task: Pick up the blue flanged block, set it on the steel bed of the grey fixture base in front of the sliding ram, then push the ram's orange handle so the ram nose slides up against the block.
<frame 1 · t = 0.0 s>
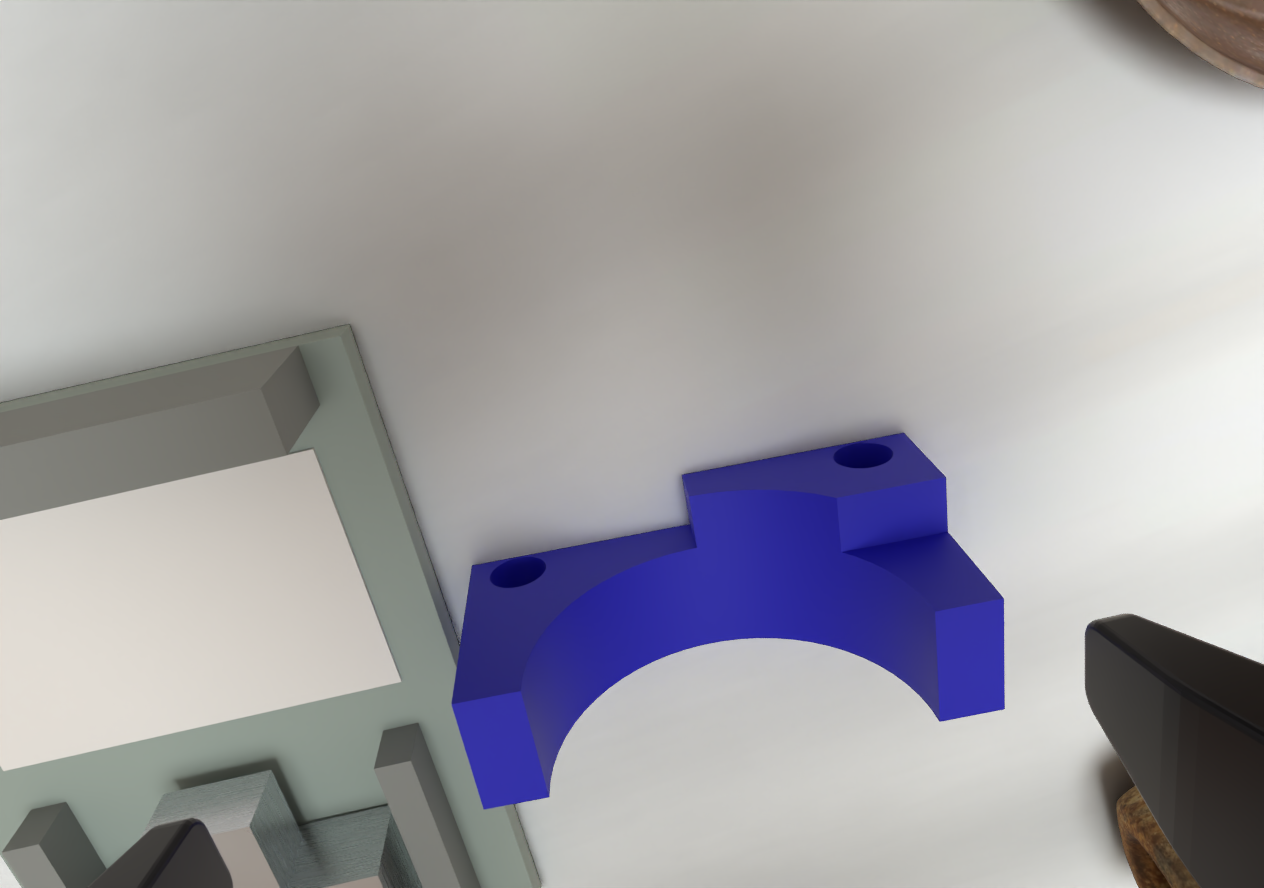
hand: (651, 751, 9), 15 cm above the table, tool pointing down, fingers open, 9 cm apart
grey fixture base: (215, 700, 26), on the table
blue flanged block: (691, 540, 26), on the table
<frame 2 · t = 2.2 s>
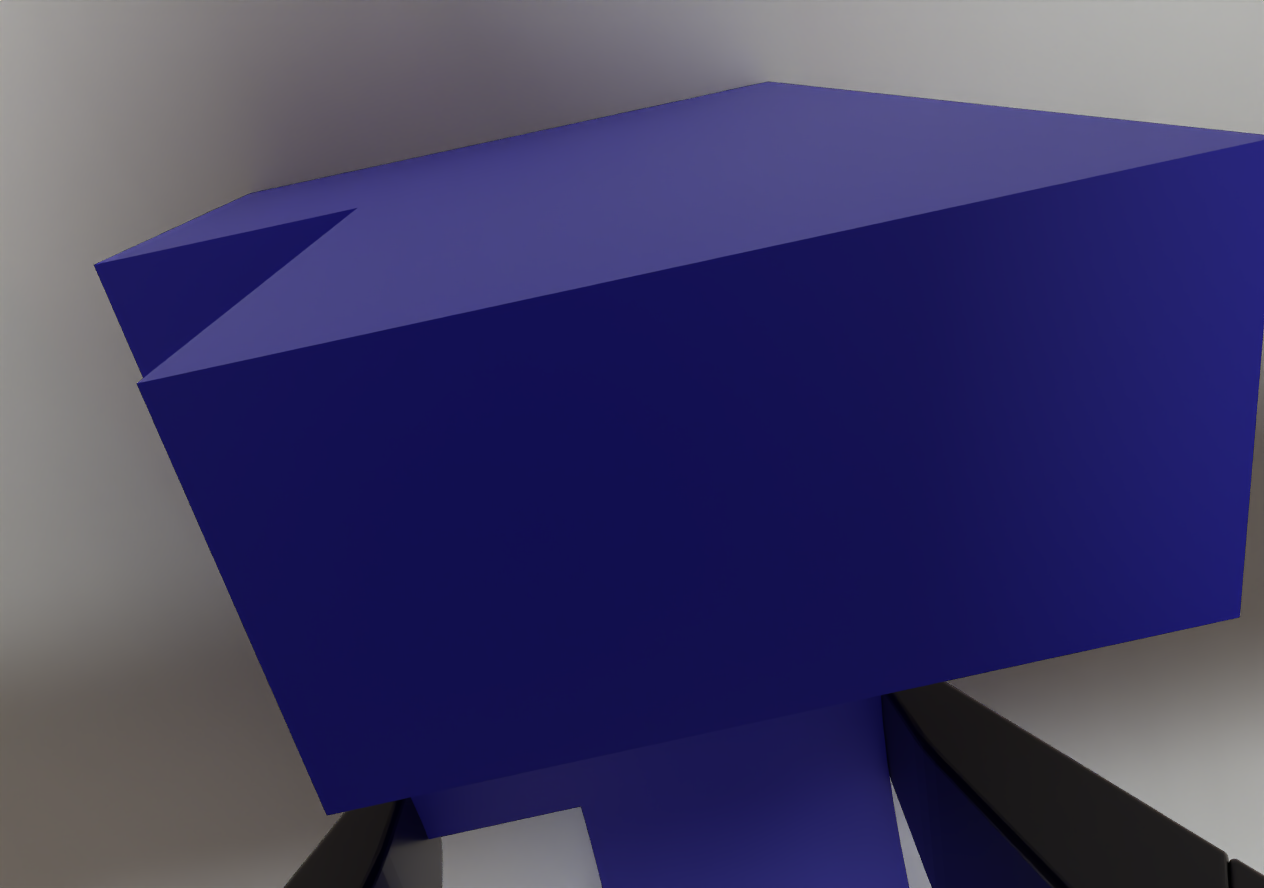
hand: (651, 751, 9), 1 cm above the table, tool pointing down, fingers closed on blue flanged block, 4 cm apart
blue flanged block: (640, 680, 10), on the table, touching gripper
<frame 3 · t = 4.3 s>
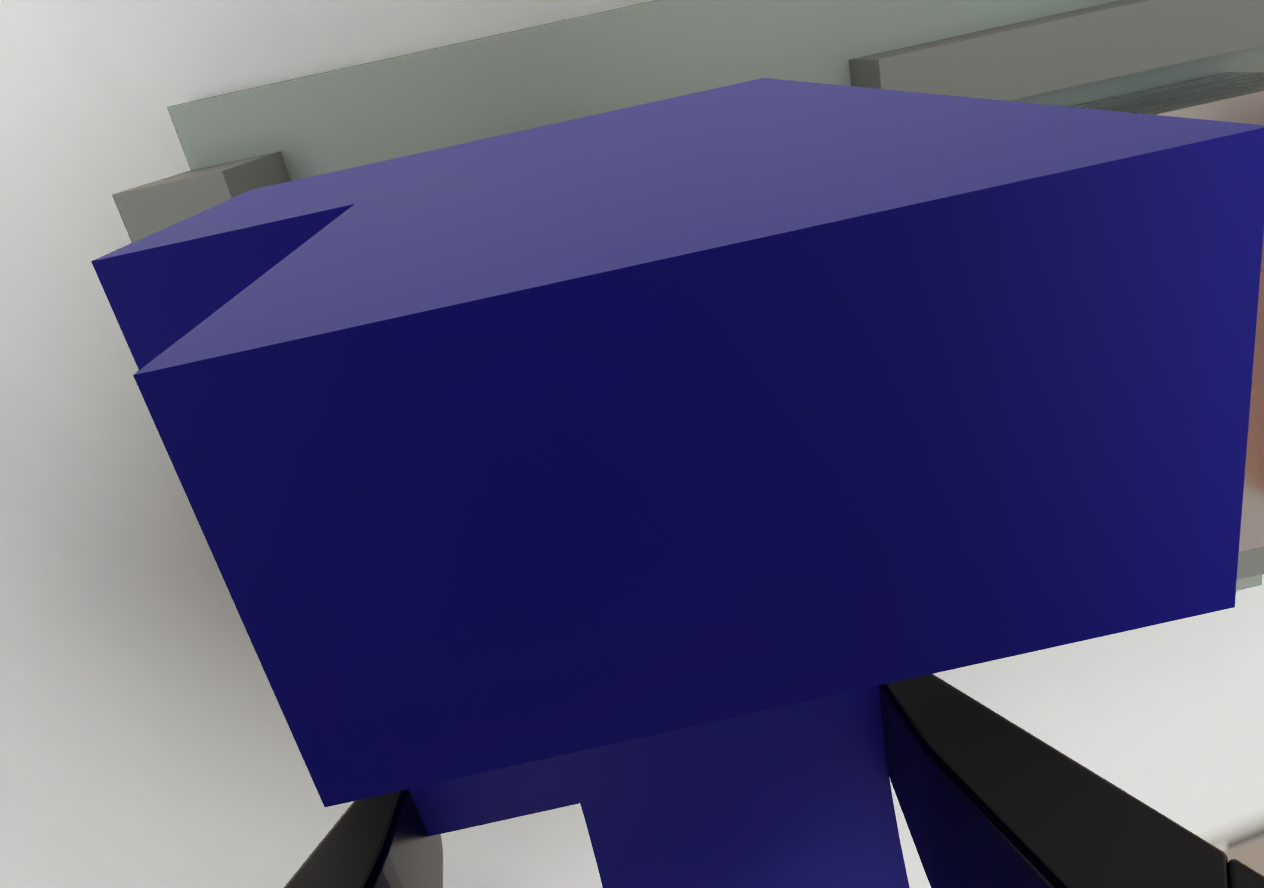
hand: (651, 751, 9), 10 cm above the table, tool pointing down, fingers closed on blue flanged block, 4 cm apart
ram: (1169, 369, 15), point 4 cm above the table, slide at 0.0 cm
grey fixture base: (788, 368, 18), on the table
blue flanged block: (639, 677, 10), point 9 cm above the table, touching gripper
when the fingers open (3 cm above the table, at t = 5.6 s): blue flanged block stays where it is, resting on grey fixture base.
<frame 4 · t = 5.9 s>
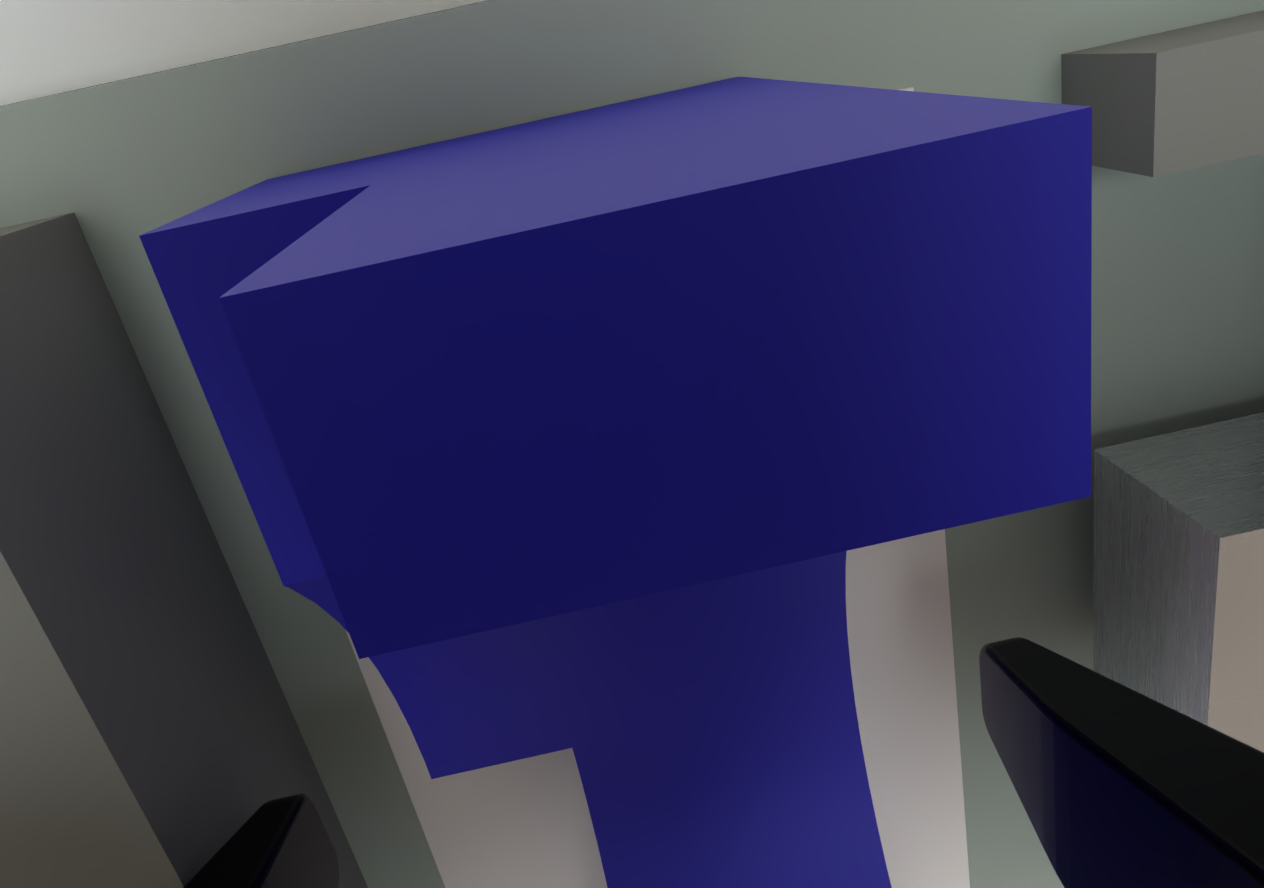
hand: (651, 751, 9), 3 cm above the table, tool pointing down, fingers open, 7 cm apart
grey fixture base: (913, 529, 12), on the table
blue flanged block: (628, 637, 11), point 1 cm above the table, touching grey fixture base
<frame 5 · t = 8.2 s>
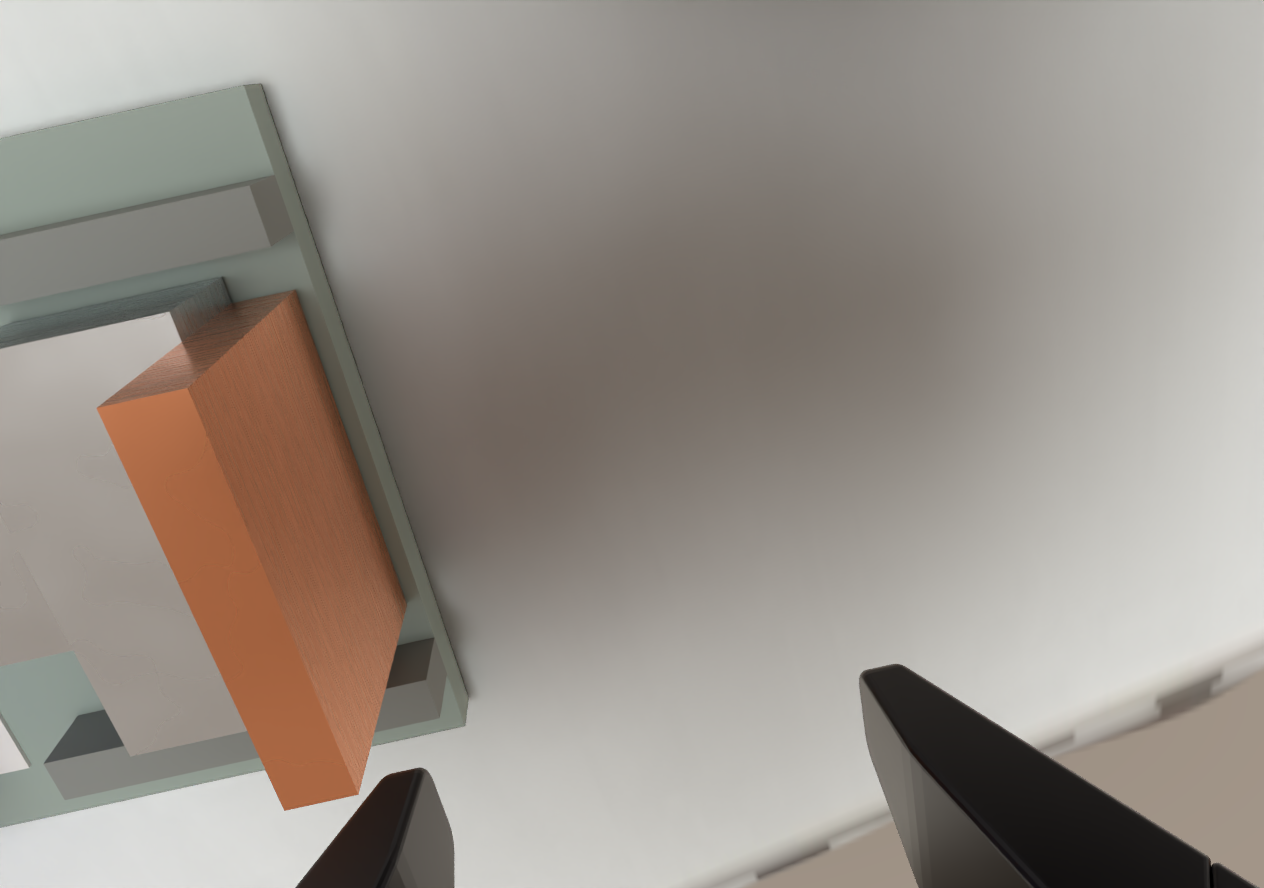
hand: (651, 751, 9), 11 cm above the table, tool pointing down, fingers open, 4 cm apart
ram: (104, 571, 16), point 4 cm above the table, slide at 0.0 cm
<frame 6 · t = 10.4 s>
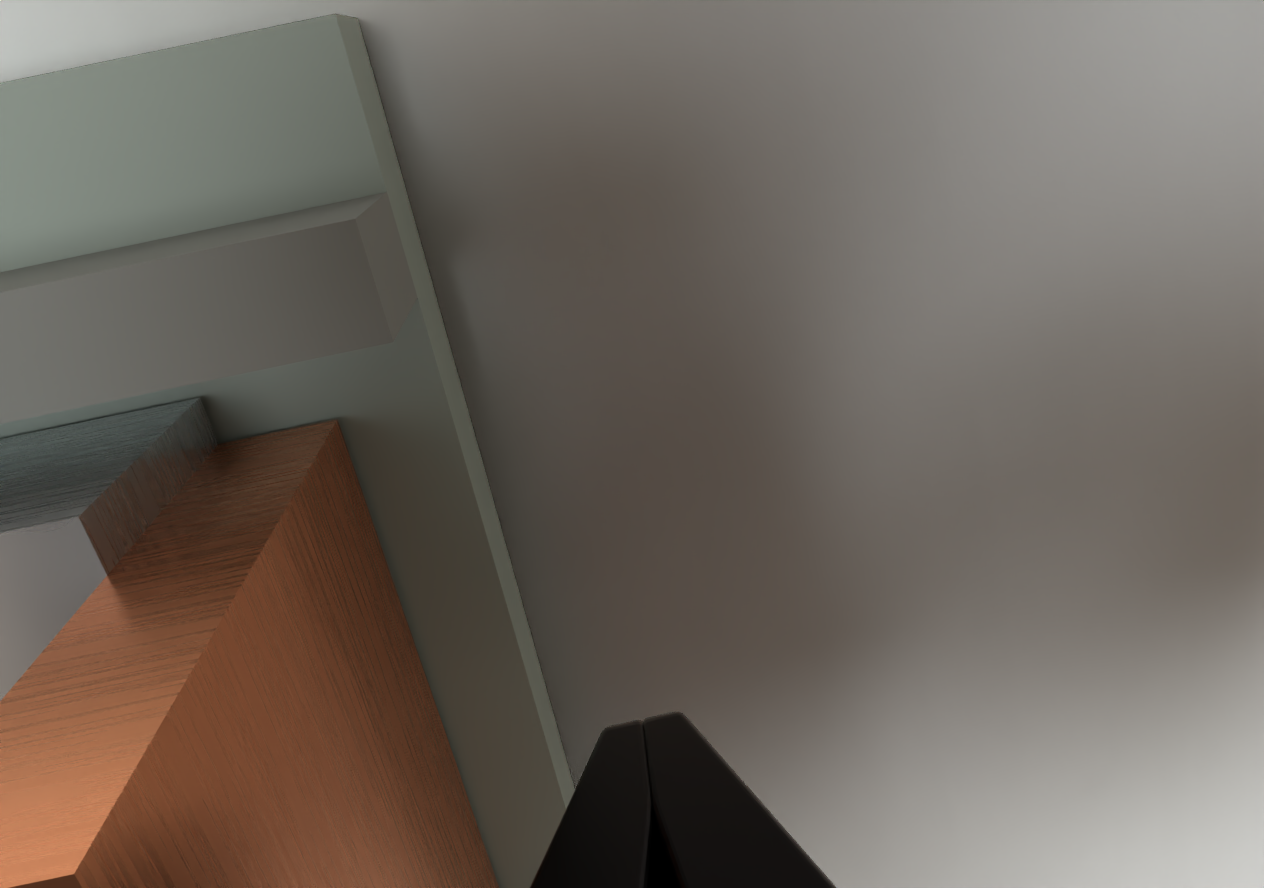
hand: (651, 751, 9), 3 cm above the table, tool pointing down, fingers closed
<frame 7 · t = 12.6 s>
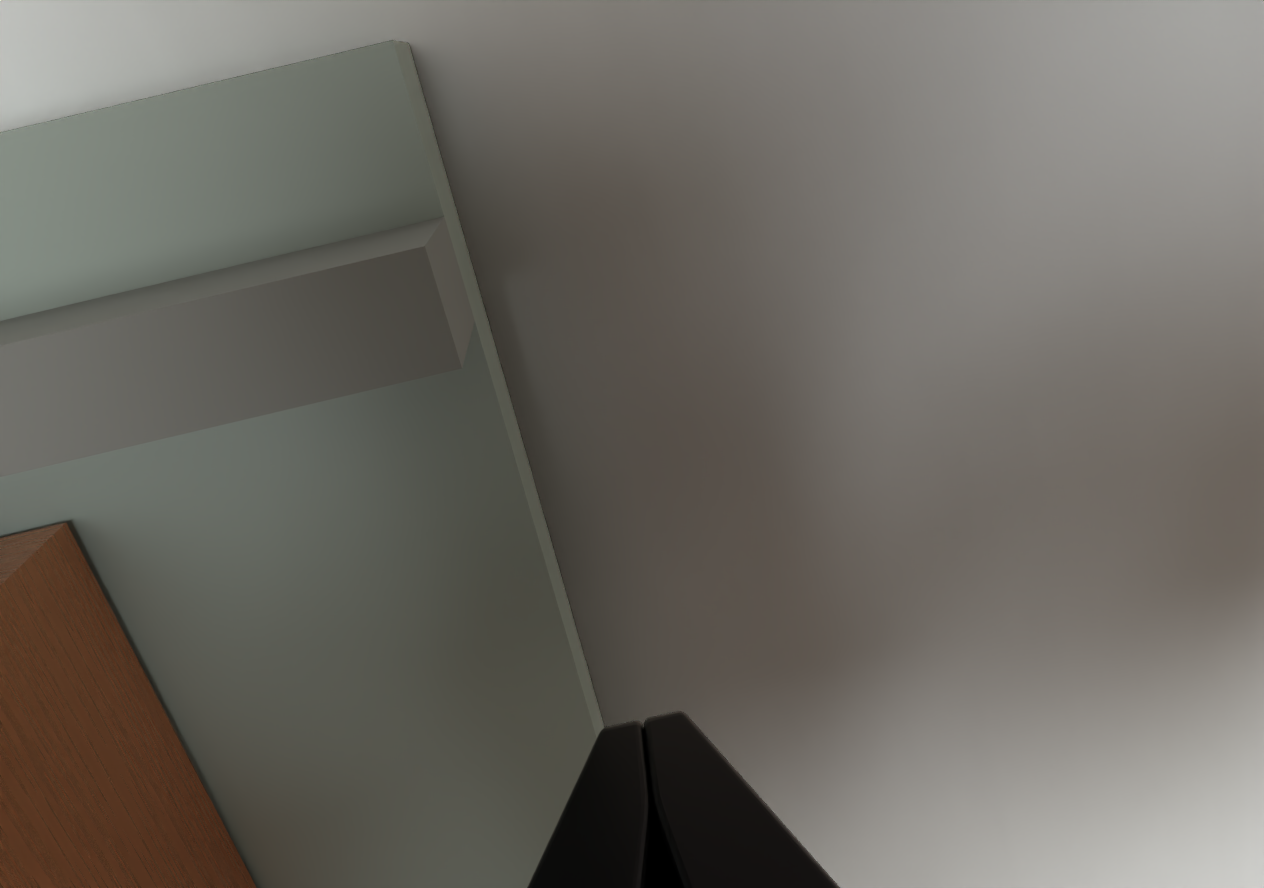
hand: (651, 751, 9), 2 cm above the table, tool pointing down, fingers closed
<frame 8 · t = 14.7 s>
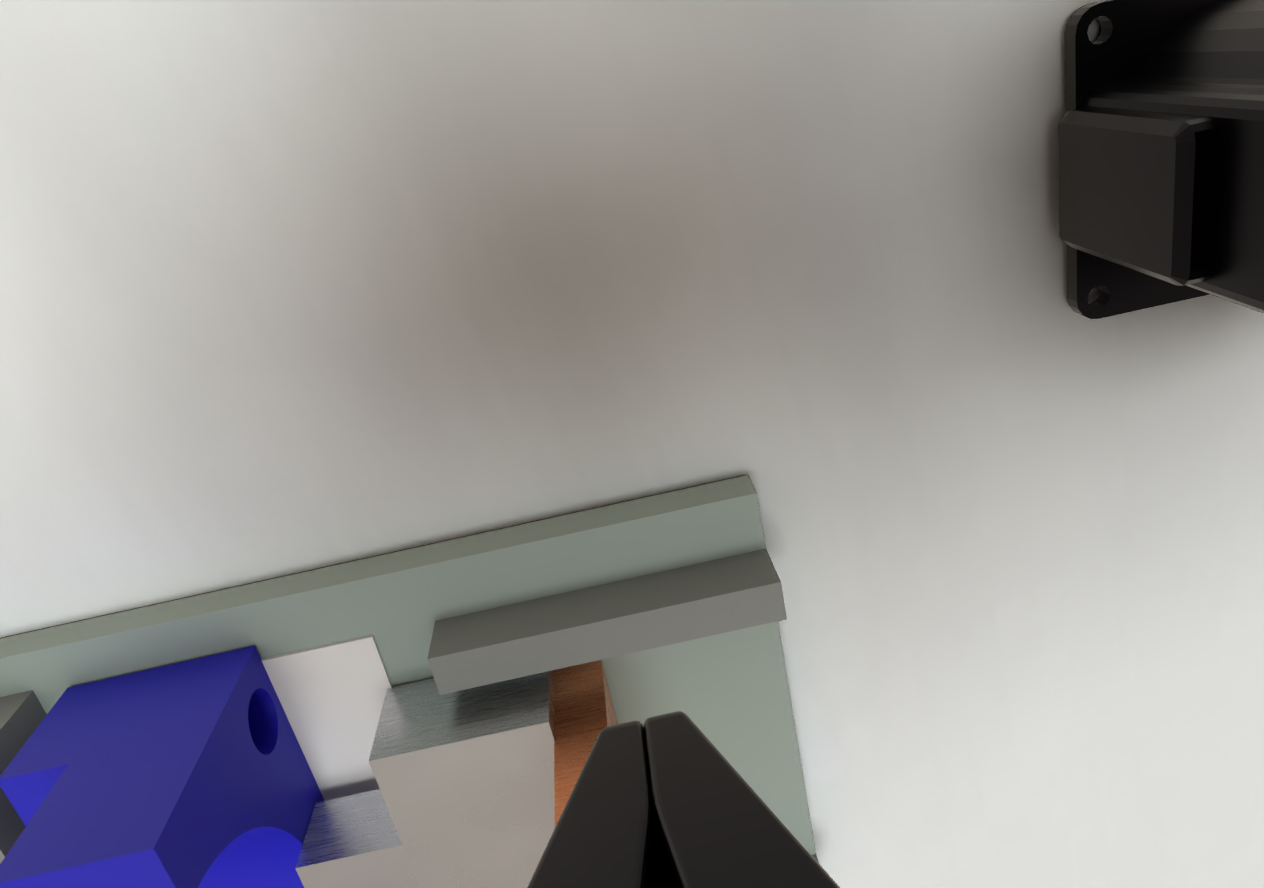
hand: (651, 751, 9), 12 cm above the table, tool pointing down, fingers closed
grey fixture base: (442, 779, 25), on the table
blue flanged block: (257, 845, 24), point 1 cm above the table, touching grey fixture base
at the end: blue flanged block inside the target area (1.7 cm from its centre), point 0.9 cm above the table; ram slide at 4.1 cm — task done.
